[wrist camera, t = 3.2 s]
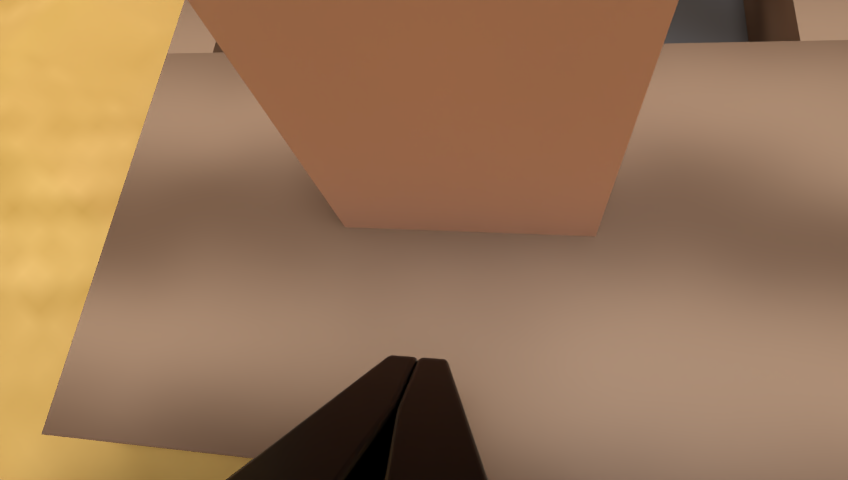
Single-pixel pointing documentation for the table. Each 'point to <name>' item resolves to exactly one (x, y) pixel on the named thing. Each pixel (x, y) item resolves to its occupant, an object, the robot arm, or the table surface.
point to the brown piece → (502, 278)
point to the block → (451, 103)
